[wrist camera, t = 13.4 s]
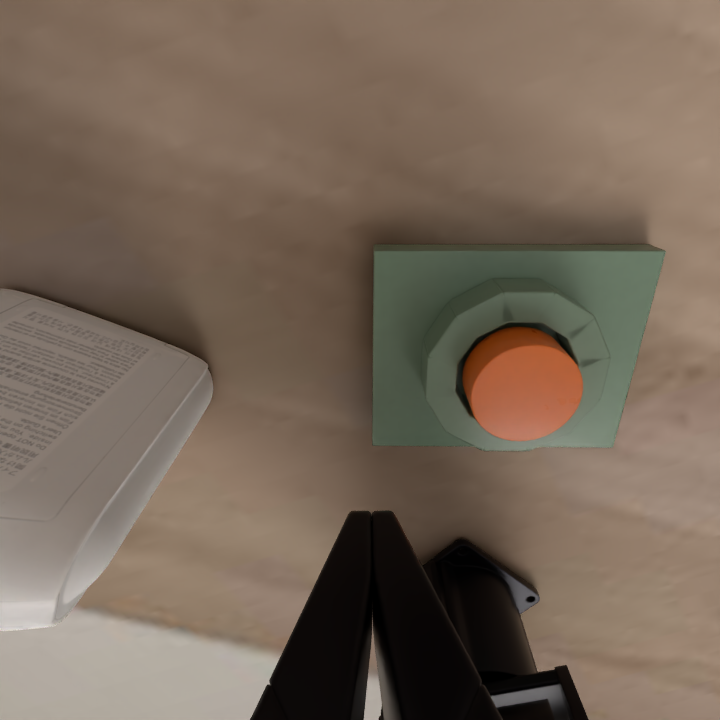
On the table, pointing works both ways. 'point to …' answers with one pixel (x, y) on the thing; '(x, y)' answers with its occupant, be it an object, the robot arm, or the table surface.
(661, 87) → the table surface
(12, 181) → the table surface
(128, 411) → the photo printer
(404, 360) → the control pad
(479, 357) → the power button
